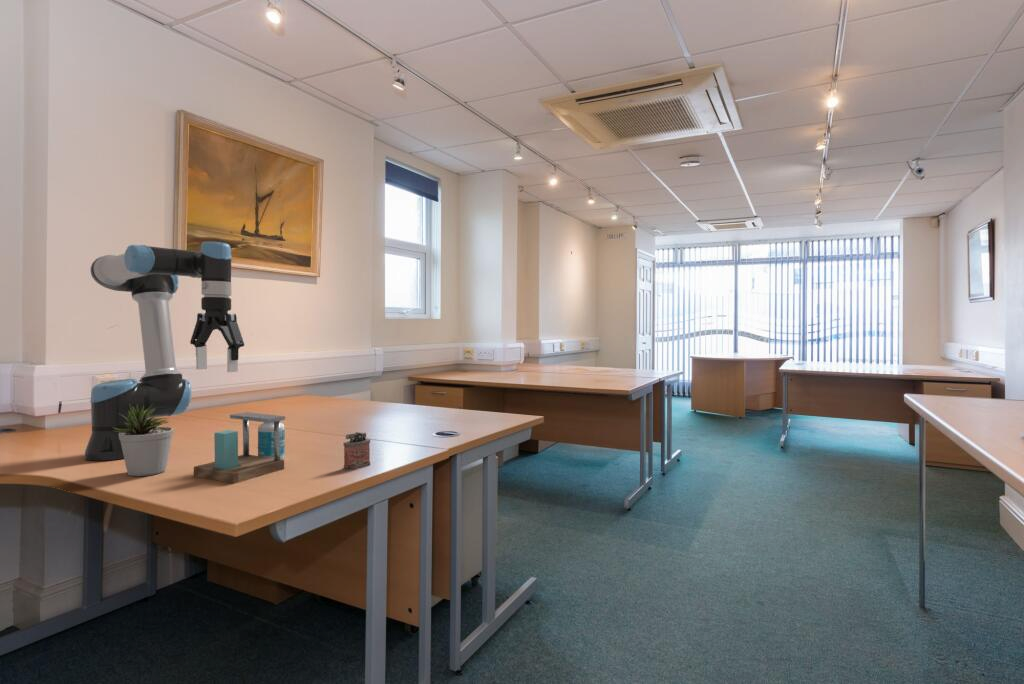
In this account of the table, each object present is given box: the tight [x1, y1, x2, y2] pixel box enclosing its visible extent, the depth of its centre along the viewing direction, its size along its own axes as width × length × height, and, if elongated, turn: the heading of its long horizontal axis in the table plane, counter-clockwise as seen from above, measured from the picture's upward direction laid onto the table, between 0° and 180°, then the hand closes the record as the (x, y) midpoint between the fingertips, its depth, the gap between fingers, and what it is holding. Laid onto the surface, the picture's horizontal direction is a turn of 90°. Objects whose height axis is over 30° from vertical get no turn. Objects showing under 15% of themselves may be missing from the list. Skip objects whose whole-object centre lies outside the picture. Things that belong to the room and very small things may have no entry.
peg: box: [213, 429, 239, 470], centre depth 145 cm, size 4×4×12 cm
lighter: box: [343, 431, 371, 471], centre depth 155 cm, size 8×3×10 cm, turn 134°
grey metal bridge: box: [229, 411, 286, 461], centre depth 154 cm, size 16×6×15 cm, turn 64°
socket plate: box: [193, 454, 285, 484], centre depth 149 cm, size 16×16×2 cm
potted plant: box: [113, 404, 174, 477], centre depth 148 cm, size 13×14×20 cm
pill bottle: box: [257, 422, 286, 460], centre depth 162 cm, size 8×7×14 cm
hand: (216, 370), depth 154 cm, fingers open, 13 cm apart
